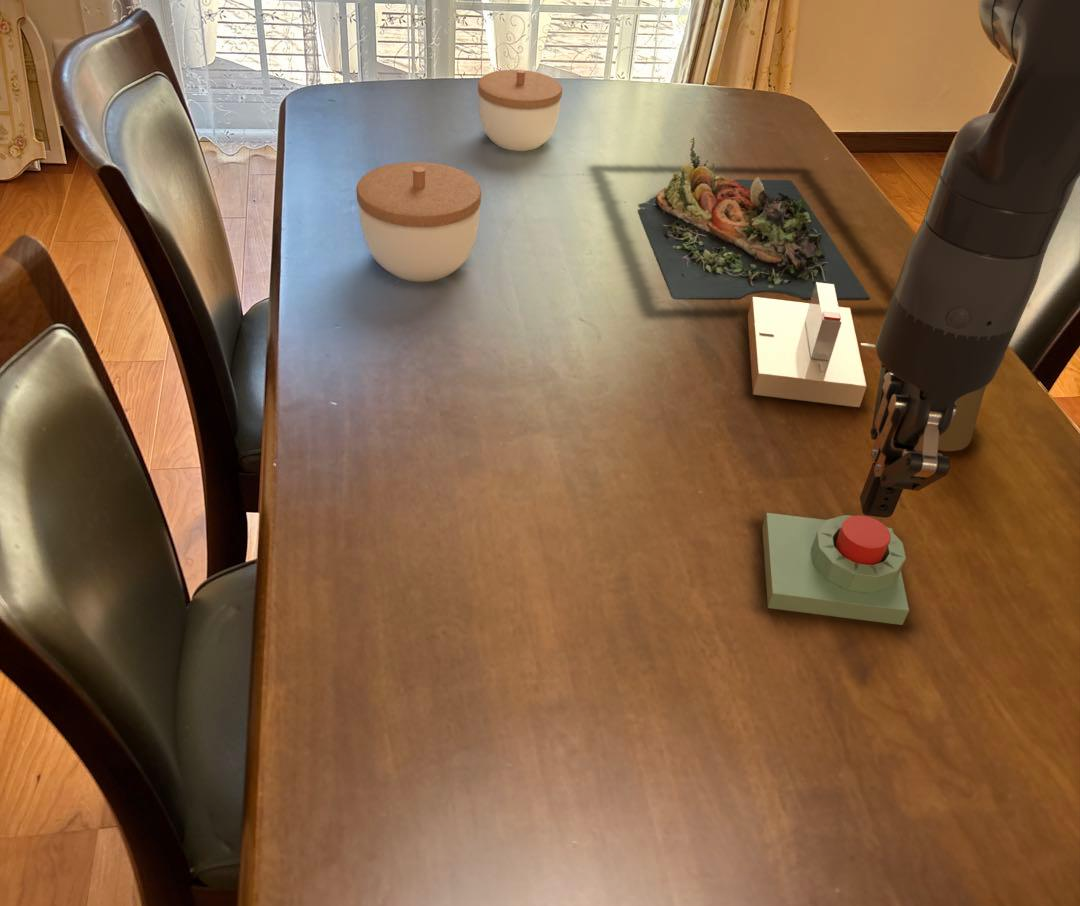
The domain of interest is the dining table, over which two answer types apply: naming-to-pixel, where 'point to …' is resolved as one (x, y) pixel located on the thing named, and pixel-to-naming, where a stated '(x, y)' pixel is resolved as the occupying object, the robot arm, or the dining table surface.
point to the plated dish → (741, 239)
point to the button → (863, 540)
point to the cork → (962, 422)
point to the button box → (829, 572)
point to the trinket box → (519, 108)
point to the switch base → (802, 356)
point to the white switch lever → (823, 321)
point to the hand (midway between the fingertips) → (874, 509)
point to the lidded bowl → (419, 218)
